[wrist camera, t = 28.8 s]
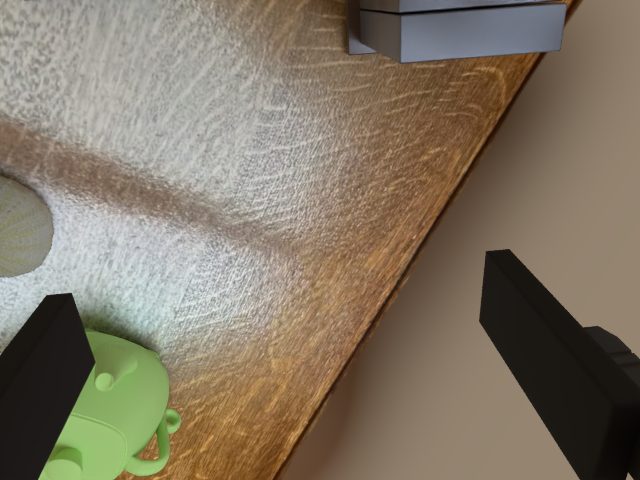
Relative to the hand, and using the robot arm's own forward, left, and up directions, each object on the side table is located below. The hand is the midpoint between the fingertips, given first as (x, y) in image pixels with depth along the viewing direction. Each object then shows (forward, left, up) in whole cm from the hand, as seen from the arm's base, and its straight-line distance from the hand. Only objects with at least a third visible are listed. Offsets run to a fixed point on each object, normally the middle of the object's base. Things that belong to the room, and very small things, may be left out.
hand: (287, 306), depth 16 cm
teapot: (+20, +24, -29) cm, 43 cm away
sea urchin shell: (+25, +7, -29) cm, 39 cm away
